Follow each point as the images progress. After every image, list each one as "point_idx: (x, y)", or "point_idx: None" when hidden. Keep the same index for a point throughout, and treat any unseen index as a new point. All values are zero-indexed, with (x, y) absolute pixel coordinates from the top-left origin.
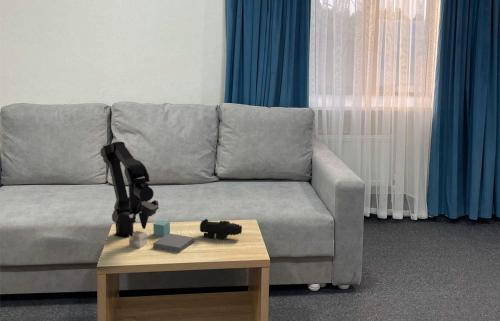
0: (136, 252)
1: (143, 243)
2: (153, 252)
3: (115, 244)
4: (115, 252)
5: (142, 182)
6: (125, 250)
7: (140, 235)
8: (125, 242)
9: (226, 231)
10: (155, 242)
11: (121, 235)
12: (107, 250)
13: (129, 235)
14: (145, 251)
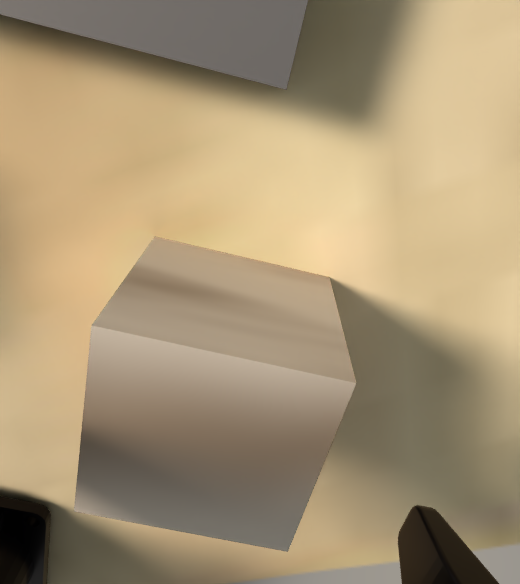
0: (487, 277)
1: (239, 273)
2: (494, 7)
3: None
4: (481, 485)
5: None
6: (418, 415)
7: (292, 386)
8: None
9: None
10: (250, 47)
11: (34, 560)
12: None
13: (289, 535)
14: (448, 163)
